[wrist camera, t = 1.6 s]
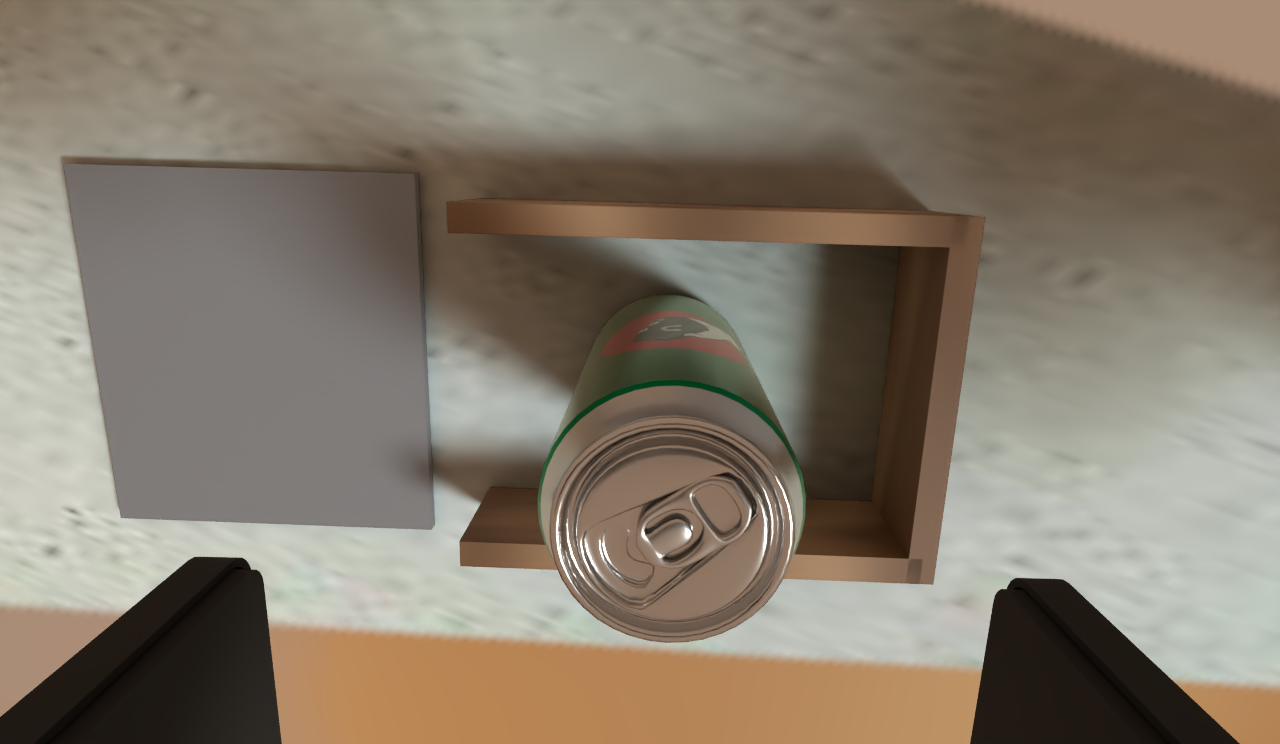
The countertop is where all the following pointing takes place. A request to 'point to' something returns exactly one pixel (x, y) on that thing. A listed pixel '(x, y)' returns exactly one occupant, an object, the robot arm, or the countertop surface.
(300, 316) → the mat
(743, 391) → the soda can
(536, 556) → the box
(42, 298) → the countertop surface
